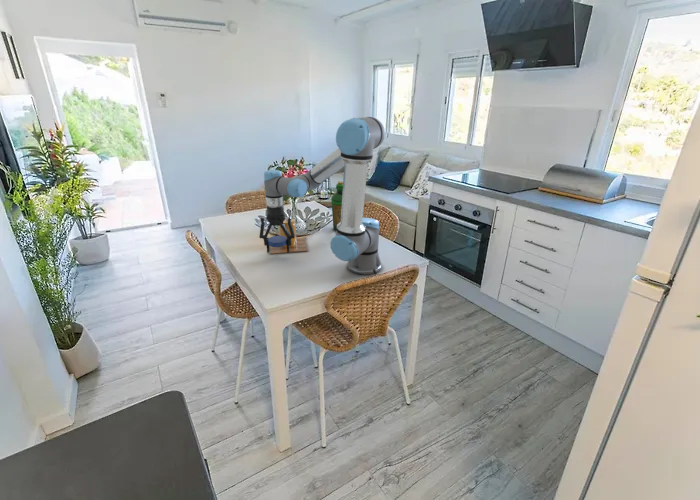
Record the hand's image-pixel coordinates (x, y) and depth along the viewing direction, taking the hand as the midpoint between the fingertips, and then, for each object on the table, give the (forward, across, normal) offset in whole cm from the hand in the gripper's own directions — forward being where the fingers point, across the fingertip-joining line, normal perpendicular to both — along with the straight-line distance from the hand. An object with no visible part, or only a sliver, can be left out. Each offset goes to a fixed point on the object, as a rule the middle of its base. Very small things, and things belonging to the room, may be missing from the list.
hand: (278, 251), depth 165 cm
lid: (-6, 0, 0) cm, 6 cm away
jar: (+3, +2, +17) cm, 17 cm away
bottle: (+4, +30, +40) cm, 50 cm away
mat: (+4, +2, +16) cm, 17 cm away
